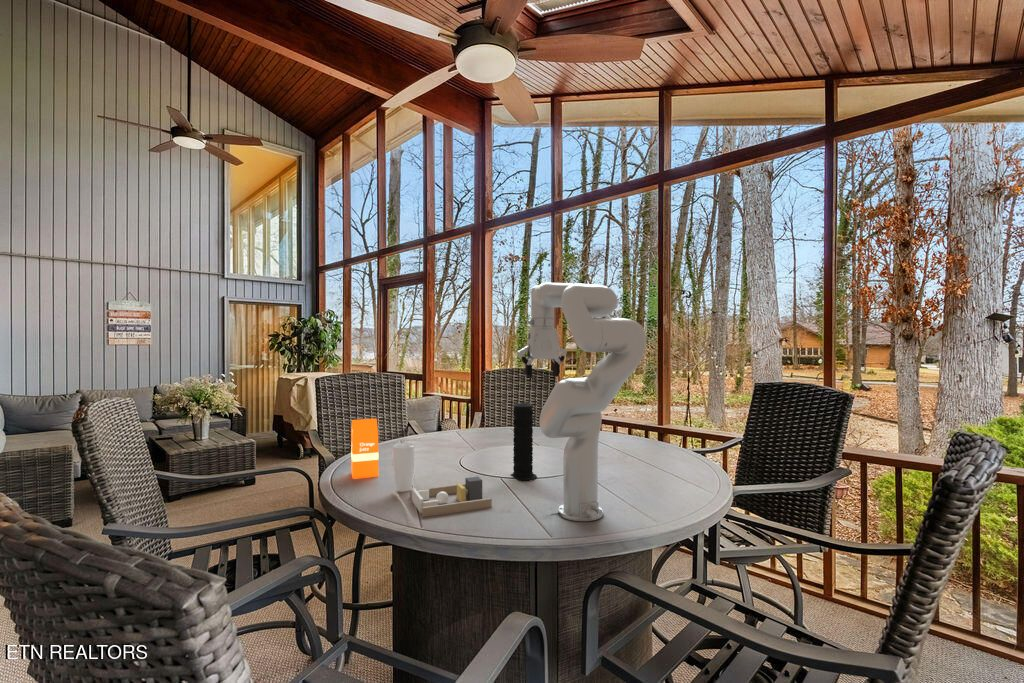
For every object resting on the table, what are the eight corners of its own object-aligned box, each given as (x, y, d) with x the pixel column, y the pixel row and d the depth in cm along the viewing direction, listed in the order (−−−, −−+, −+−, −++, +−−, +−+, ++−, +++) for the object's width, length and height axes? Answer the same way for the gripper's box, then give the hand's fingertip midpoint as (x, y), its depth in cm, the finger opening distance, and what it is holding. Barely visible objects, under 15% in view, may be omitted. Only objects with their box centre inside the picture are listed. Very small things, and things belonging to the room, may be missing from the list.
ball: (452, 496, 148) (441, 491, 147) (446, 507, 147) (435, 502, 146) (448, 492, 151) (438, 487, 150) (442, 503, 150) (432, 499, 149)
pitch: (491, 510, 146) (491, 498, 146) (422, 520, 138) (422, 508, 138) (472, 492, 161) (472, 482, 161) (409, 501, 153) (409, 490, 153)
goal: (438, 511, 142) (438, 497, 142) (420, 513, 140) (420, 499, 140) (428, 499, 153) (428, 486, 153) (411, 501, 151) (411, 488, 151)
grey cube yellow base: (482, 500, 151) (482, 480, 151) (461, 503, 148) (461, 483, 148) (477, 495, 155) (477, 476, 155) (456, 498, 153) (456, 478, 153)
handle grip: (536, 481, 173) (537, 473, 183) (536, 404, 173) (538, 400, 183) (507, 481, 174) (510, 472, 184) (507, 404, 174) (510, 400, 184)
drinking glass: (393, 496, 158) (393, 448, 158) (392, 489, 164) (392, 443, 164) (415, 494, 160) (415, 447, 159) (413, 487, 166) (413, 442, 166)
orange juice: (378, 476, 179) (378, 420, 179) (352, 479, 176) (352, 421, 176) (376, 470, 187) (375, 416, 186) (351, 473, 183) (350, 418, 183)
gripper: (523, 323, 157) (523, 378, 157) (571, 324, 164) (571, 376, 164) (513, 323, 164) (513, 376, 164) (560, 324, 171) (560, 375, 171)
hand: (542, 376), depth 164 cm, fingers open, 9 cm apart
